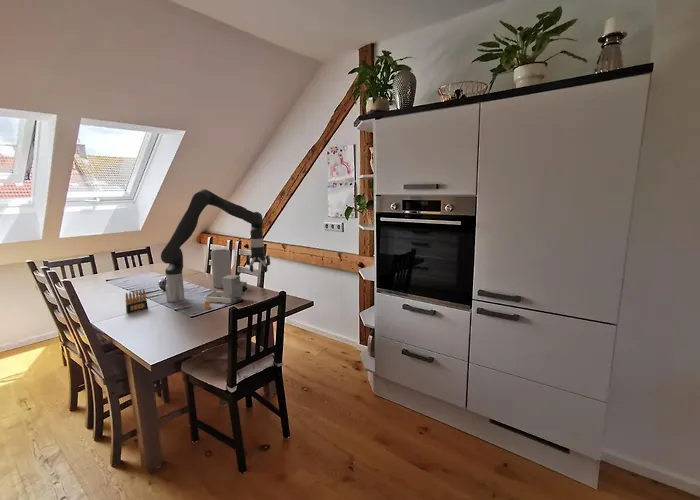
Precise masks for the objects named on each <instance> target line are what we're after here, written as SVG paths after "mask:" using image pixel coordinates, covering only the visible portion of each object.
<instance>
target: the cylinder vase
mask: <svg viewBox="0 0 700 500" xmlns="http://www.w3.org/2000/svg"><path fill="white" fill-rule="evenodd" d="M210 258H211V259H210V260H211V261H210V262H211V275H212V286H213V288H216V289H223V285H222V278H223V277H225V276H227V275H232V265H231V264H232V263H231V250H230V249H226V248H225V249H223V248H222V249H215V250H211V251H210Z"/></svg>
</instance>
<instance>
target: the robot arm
mask: <svg viewBox="0 0 700 500" xmlns="http://www.w3.org/2000/svg"><path fill="white" fill-rule="evenodd" d="M207 206H213V207H216V208H219V209H220V210H223V212H225V213H226V214H228V215H230V216H233V217H235V218H237V219H241V220H242V221H244V222H246V223H249V224H250V227H251V228H250V231H249V232H250V253H251V254H247V255H246V256H245V257H246V262H245V263H246V265H247V266H249V271H250V273H253V272H254V264H255V263H260V264H262V265H263V266H264V267H263V272H264V273H267V272H268V266H270V265H271V259H270V255H269V254H267V255H265V244H264V243H265V242H264V237H263V233H264V232H263V224H264V223H263V221H264V219H263V214H261V213H260V212H258V211H251V210H249V209H247V208H246V207H243V206H242V205H239V204H236V203H233V202H231V201H228V200H227V199H224V198H223V197H221V196H218V195H217V194H215V193H213V192H212V191H210V190H208V189H206V188H204V189H200V190H198V191H196V192H194V193H193V195H192V198H191V200H190V202H189V204H188V207H187V209H186V211H185V213H184V214H183V216H182V217H181V219H180V221H179V222H178V224H177V226H176V228H175V230H174V232H173V234H172V236H171V238H170V239H169V241H168V242H167V244H166V245H165V246H164V248H163V249H162V251H161V253H160V260H161V261H162V263H163V264H168V267H166V268H165V271H164V272H165V279H166V285H165V288H164V289H165V296H166V301H167V302H169V303H177V302H182V301H184V300H185V288H184V287H185V286H184V277H183V268H184V255H183V250H182V249H181V247H182V246H183V245H184V244H185V243H186V242H187V241H188V240H189V239H190V238H191V237H192V235H193V234H194V232H195V230H196V228H197V226H198V222H199V218H200V216H201V214H202V212H203V211H204V209H206V207H207Z"/></svg>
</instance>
